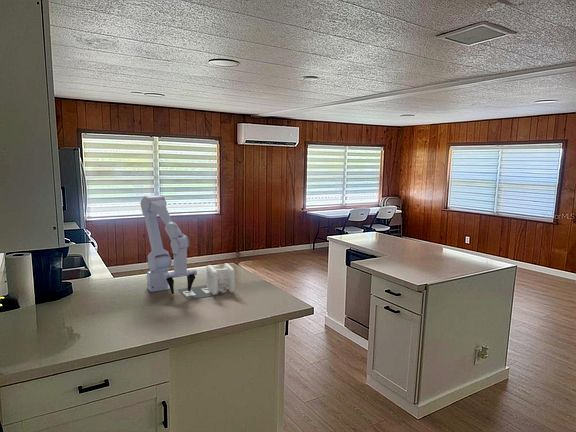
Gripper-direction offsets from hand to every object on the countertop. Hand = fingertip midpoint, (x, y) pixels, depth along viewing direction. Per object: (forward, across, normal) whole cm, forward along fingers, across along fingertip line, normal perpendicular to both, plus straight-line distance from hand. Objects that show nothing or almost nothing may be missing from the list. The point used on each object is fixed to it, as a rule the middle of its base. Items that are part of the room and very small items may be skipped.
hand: (180, 292), depth 179 cm
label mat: (+1, +9, 0) cm, 10 cm away
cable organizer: (+1, +18, -4) cm, 18 cm away
